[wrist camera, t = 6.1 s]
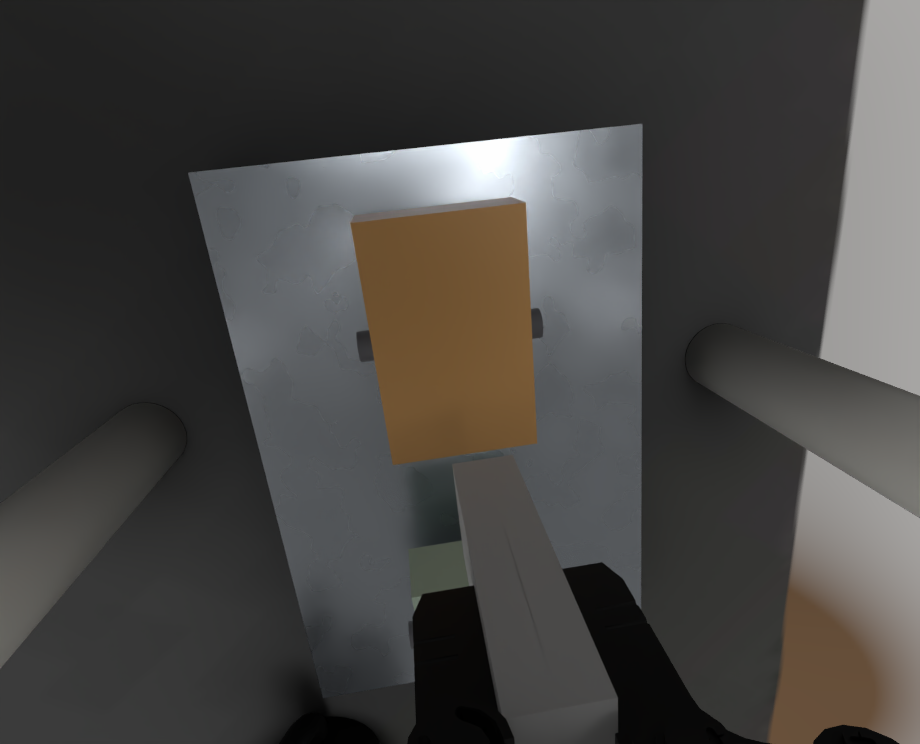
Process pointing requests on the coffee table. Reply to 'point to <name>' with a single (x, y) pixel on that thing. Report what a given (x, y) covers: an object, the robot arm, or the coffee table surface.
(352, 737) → the mug
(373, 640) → the panel
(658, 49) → the coffee table surface
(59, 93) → the coffee table surface
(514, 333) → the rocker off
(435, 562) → the rocker on
